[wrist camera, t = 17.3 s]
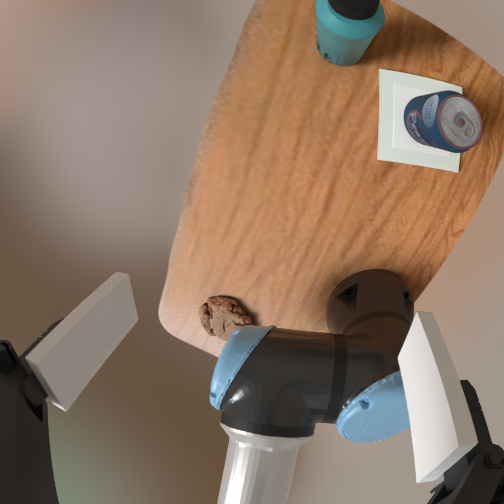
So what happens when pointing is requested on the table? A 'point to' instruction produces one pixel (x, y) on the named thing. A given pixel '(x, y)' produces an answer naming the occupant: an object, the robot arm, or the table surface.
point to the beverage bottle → (347, 28)
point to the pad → (393, 128)
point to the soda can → (444, 121)
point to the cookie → (222, 317)
